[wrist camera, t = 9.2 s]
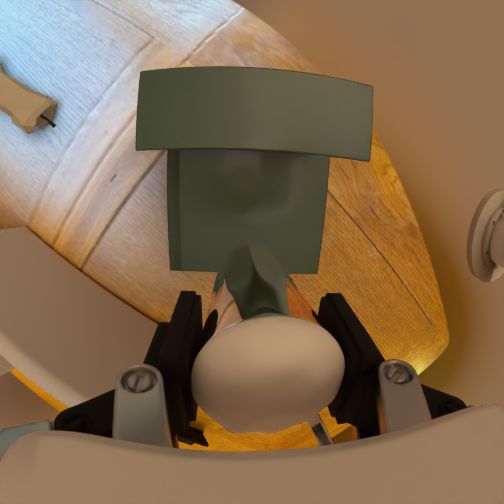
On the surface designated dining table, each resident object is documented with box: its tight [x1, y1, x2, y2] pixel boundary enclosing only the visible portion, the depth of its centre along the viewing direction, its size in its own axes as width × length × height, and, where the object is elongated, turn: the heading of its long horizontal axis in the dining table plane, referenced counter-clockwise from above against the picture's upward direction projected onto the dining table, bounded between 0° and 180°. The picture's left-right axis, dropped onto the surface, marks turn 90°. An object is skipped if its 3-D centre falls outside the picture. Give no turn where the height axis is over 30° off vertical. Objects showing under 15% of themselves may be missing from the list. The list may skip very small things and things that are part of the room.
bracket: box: [0, 227, 158, 408], centre depth 27 cm, size 30×10×30 cm, turn 53°
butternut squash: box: [0, 64, 58, 134], centre depth 21 cm, size 9×8×25 cm
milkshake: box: [191, 243, 345, 446], centre depth 10 cm, size 5×5×10 cm
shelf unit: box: [136, 66, 373, 274], centre depth 23 cm, size 16×14×16 cm
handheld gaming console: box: [177, 427, 209, 447], centre depth 43 cm, size 12×7×10 cm
